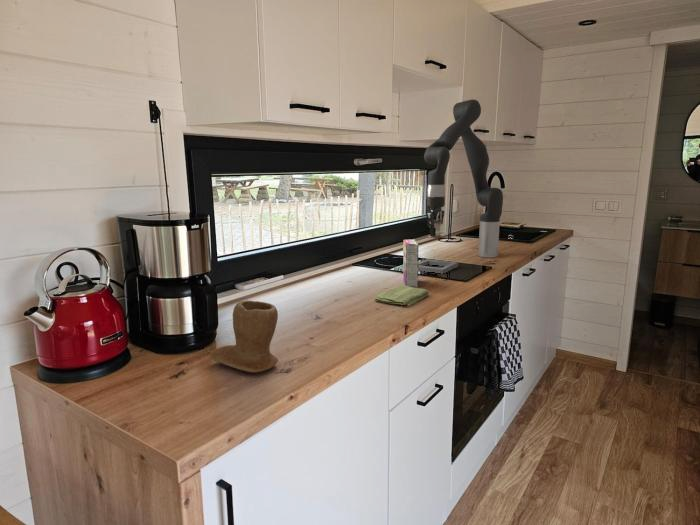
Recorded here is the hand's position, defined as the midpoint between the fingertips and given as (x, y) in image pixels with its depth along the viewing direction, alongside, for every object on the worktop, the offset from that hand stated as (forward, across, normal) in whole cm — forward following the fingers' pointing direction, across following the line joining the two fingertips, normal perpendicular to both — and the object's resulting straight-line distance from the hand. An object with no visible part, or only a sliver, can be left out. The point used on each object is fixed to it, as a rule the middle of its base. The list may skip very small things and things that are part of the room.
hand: (435, 235), depth 206 cm
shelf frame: (+15, 0, 0) cm, 15 cm away
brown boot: (+15, +116, +5) cm, 117 cm away
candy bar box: (+15, +29, +3) cm, 33 cm away
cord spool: (+1, 0, 0) cm, 1 cm away
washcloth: (+15, +49, +10) cm, 52 cm away
